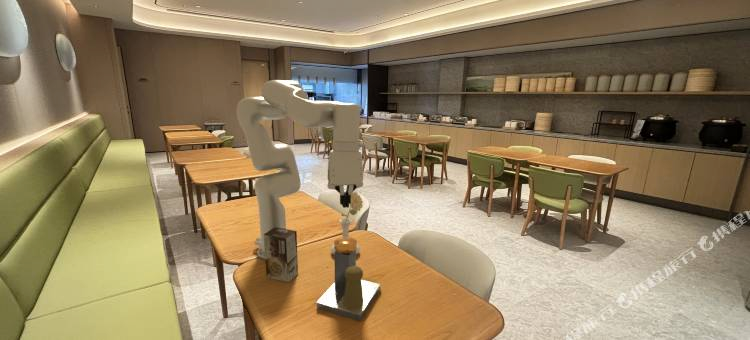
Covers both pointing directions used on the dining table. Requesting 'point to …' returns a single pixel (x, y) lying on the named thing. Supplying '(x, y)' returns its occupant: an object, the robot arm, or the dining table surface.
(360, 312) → the press stand
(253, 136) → the robot arm
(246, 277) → the dining table surface
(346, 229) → the flower in vase
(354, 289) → the cork
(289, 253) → the coffee box
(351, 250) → the handle
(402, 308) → the dining table surface
